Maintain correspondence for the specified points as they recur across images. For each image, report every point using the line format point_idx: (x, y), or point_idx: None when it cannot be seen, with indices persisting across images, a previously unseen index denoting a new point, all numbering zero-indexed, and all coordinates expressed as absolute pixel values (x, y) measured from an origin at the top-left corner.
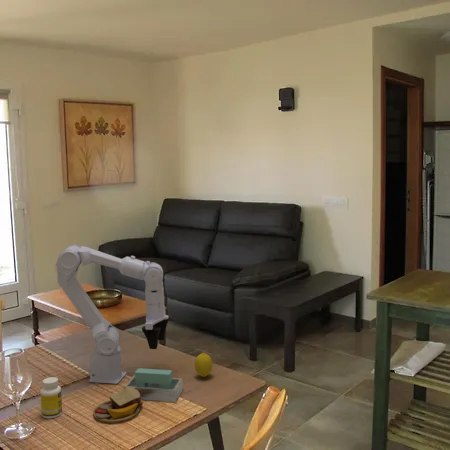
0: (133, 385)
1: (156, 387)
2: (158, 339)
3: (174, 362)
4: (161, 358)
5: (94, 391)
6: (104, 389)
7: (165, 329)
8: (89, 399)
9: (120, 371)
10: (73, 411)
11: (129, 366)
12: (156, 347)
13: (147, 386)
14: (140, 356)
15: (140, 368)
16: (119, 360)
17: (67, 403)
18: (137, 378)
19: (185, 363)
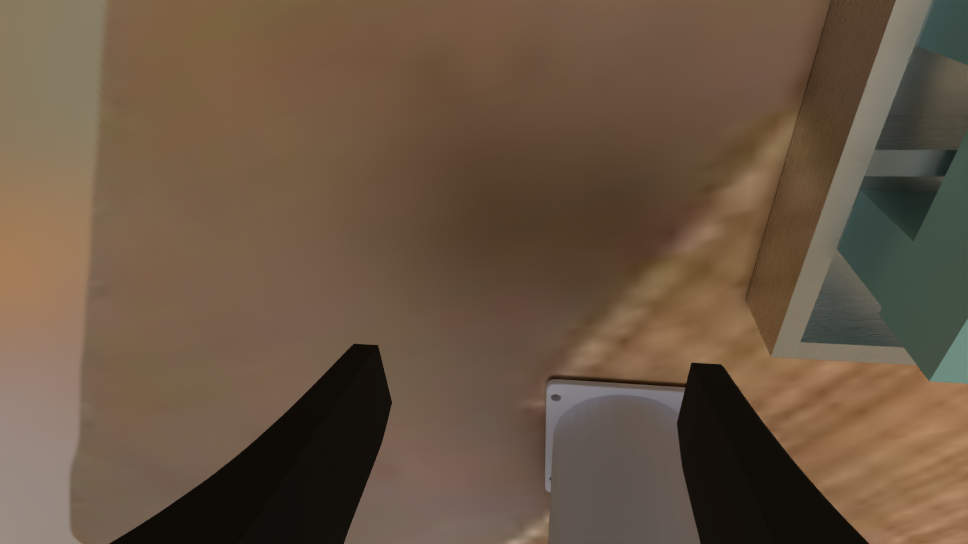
0: (824, 308)
1: (914, 125)
2: (387, 399)
3: (277, 135)
4: (256, 245)
5: (798, 460)
6: (776, 427)
7: (272, 448)
8: (909, 460)
9: (637, 428)
10: None
11: (441, 384)
12: (731, 380)
13: (897, 207)
14: (288, 363)
15: (939, 364)
16: (656, 505)
17: (935, 523)
18: None
19: (254, 30)
